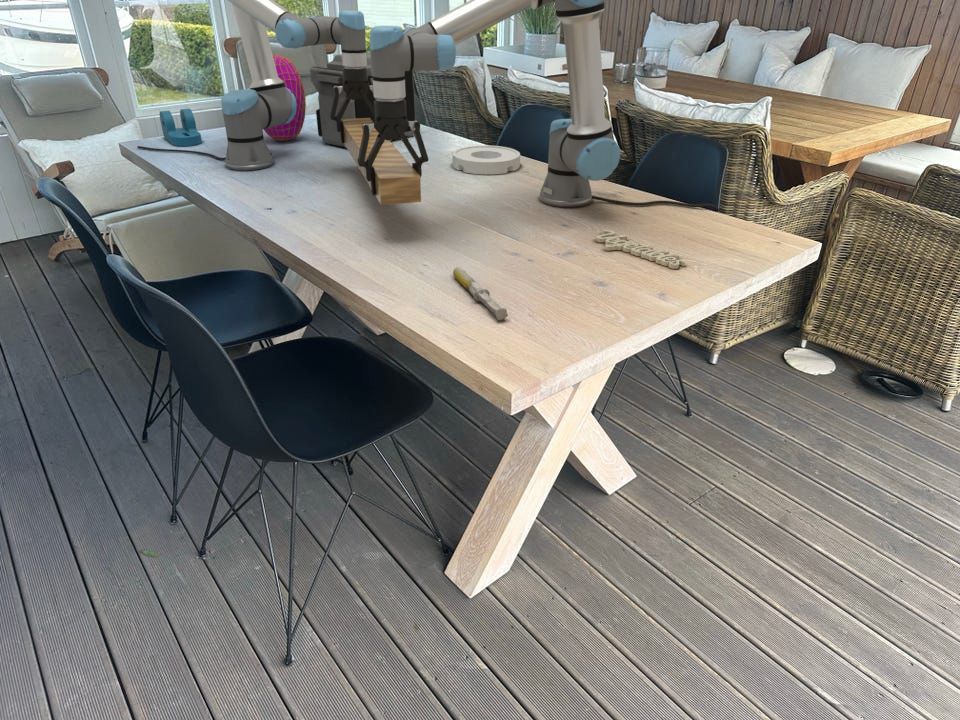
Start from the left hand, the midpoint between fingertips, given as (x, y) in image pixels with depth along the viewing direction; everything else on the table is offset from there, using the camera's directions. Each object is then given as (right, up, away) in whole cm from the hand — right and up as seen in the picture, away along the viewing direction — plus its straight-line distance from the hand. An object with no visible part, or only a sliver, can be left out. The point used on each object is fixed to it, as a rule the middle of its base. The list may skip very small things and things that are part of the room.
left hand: (359, 141), depth 222 cm
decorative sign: (+77, -44, -53) cm, 104 cm away
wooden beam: (+9, -15, -24) cm, 30 cm away
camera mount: (-74, +13, +40) cm, 85 cm away
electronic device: (-5, +15, +46) cm, 48 cm away
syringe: (+39, -57, -77) cm, 103 cm away
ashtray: (+41, -4, +14) cm, 44 cm away
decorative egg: (-37, +14, +43) cm, 58 cm away
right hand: (+18, -28, -49) cm, 59 cm away
